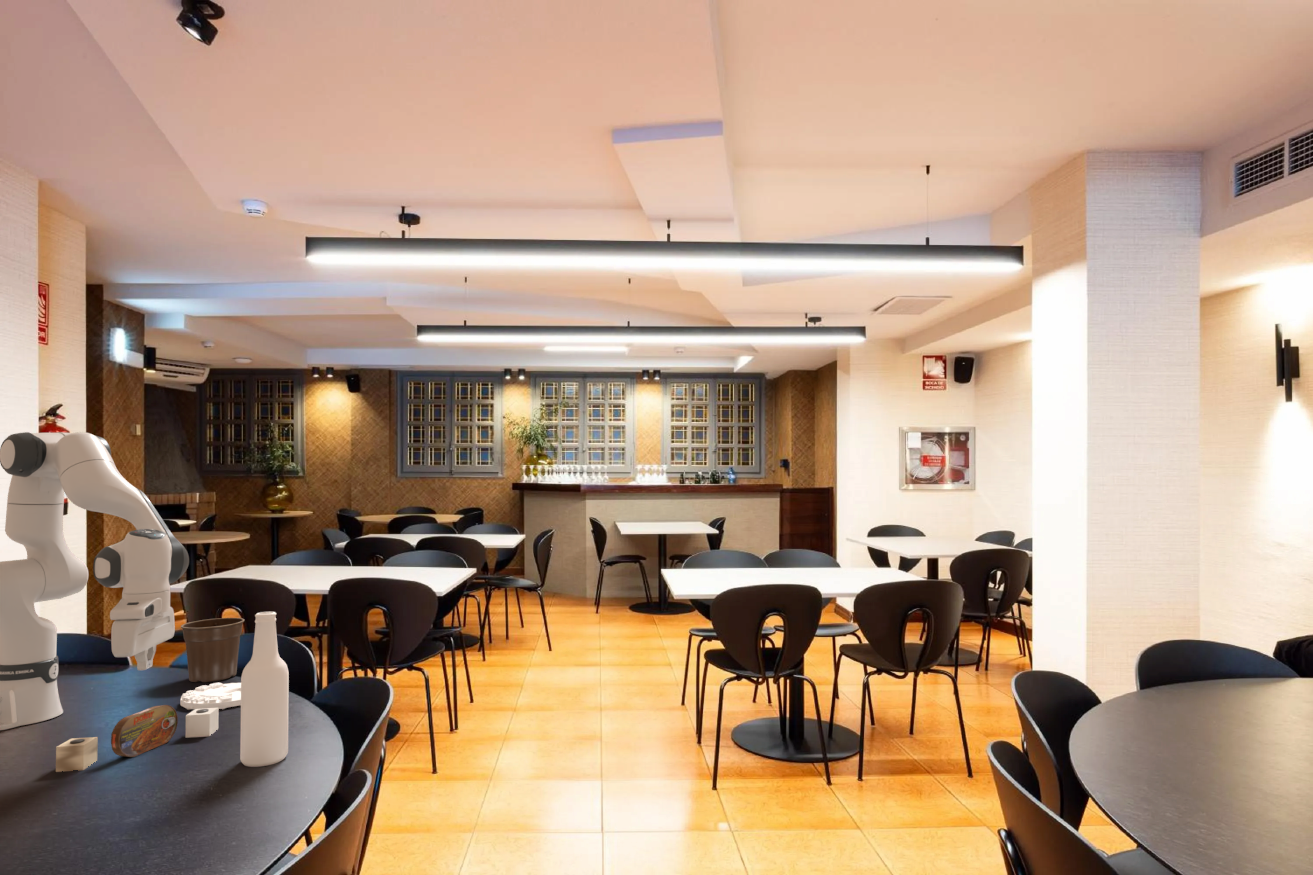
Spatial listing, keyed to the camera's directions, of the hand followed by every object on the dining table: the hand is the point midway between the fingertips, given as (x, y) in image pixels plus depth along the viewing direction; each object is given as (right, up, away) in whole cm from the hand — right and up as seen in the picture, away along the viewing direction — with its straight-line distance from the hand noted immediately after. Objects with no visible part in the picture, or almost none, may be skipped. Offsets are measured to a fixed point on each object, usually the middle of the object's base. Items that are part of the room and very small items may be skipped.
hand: (144, 668), depth 168 cm
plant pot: (-19, -20, +59) cm, 65 cm away
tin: (+1, -17, -1) cm, 17 cm away
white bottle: (+30, -16, -9) cm, 36 cm away
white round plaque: (-3, -19, +36) cm, 41 cm away
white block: (+7, -18, +9) cm, 21 cm away
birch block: (-7, -17, -11) cm, 21 cm away
